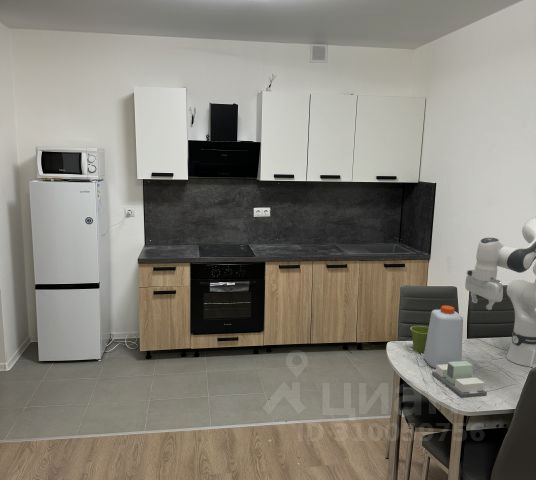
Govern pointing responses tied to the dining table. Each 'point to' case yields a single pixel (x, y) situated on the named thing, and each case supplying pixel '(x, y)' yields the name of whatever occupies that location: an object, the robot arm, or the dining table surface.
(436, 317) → the plastic bottle
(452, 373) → the block
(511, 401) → the dining table surface
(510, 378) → the dining table surface
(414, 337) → the plant pot
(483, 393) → the board
